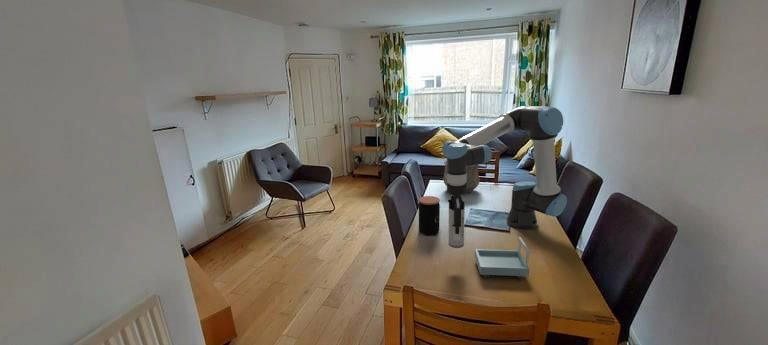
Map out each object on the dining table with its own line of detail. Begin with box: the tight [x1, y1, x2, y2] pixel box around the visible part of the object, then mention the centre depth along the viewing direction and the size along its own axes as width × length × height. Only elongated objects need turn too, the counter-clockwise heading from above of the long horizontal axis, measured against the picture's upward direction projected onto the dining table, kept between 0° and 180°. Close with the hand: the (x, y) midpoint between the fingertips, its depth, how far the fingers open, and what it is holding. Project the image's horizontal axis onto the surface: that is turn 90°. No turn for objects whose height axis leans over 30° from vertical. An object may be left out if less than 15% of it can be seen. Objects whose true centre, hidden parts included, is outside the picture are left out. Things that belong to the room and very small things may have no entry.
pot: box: [443, 160, 481, 193], centre depth 224 cm, size 25×24×21 cm
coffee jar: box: [418, 195, 441, 237], centre depth 163 cm, size 11×11×18 cm
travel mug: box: [447, 198, 466, 249], centre depth 130 cm, size 6×7×20 cm
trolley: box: [474, 236, 531, 281], centre depth 128 cm, size 18×14×12 cm
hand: (455, 236), depth 131 cm, fingers closed on travel mug, 6 cm apart
